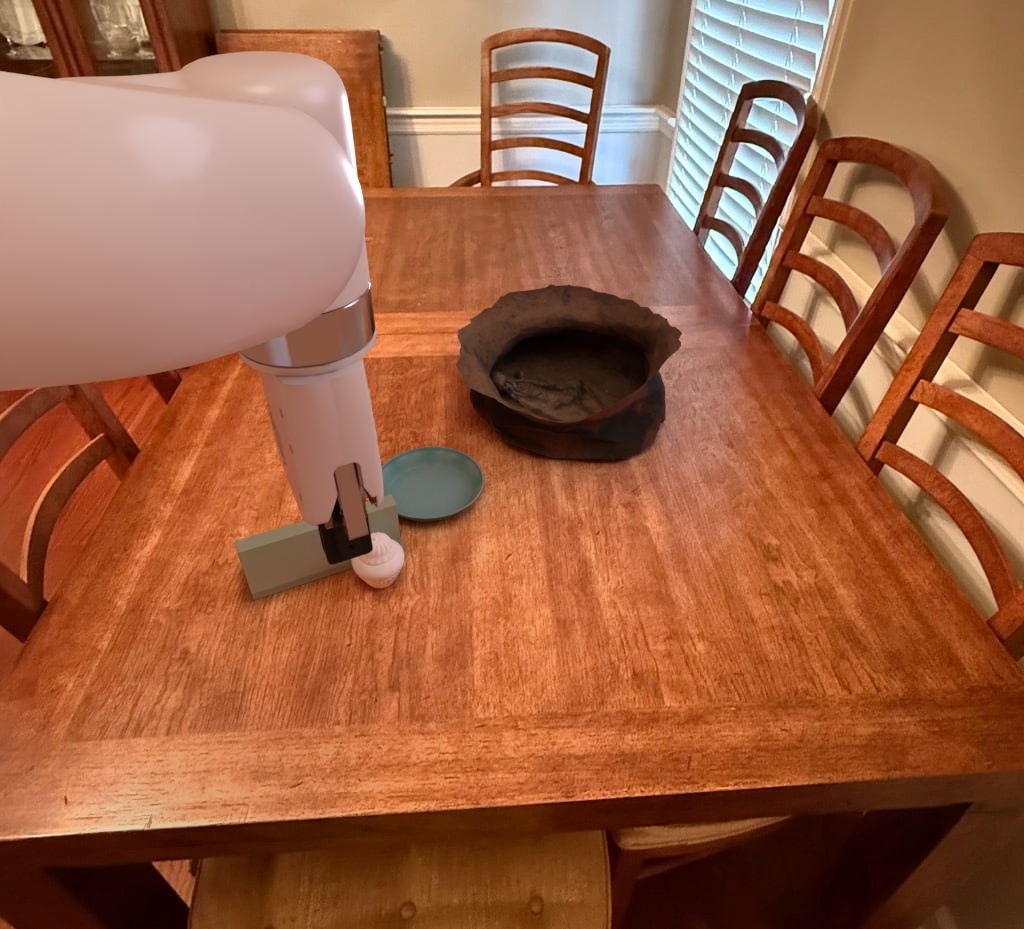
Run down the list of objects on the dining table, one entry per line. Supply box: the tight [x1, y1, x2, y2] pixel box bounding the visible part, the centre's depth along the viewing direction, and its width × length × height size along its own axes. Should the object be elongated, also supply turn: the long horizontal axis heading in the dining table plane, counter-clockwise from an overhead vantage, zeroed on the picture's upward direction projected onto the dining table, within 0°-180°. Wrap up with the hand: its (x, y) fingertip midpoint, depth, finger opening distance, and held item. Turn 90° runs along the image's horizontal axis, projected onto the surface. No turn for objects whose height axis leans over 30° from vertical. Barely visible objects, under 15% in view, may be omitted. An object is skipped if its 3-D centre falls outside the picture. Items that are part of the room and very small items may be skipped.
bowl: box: [455, 283, 683, 461], centre depth 107 cm, size 34×33×15 cm
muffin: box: [351, 532, 406, 589], centre depth 81 cm, size 6×6×7 cm
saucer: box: [381, 445, 485, 522], centre depth 94 cm, size 15×15×3 cm
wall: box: [234, 495, 403, 601], centre depth 82 cm, size 18×5×8 cm, turn 116°
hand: (348, 550), depth 49 cm, fingers closed
